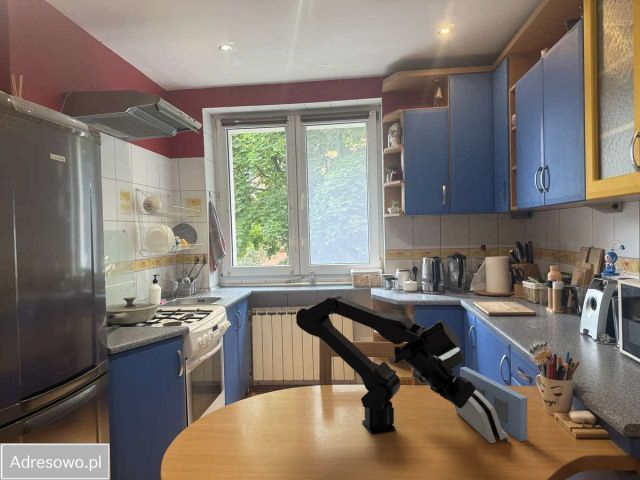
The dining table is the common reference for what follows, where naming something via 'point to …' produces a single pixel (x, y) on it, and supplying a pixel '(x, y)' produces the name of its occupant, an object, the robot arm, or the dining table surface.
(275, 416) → the dining table surface
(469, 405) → the white black-striped curved device
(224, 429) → the dining table surface
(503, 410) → the cabinet side panel
